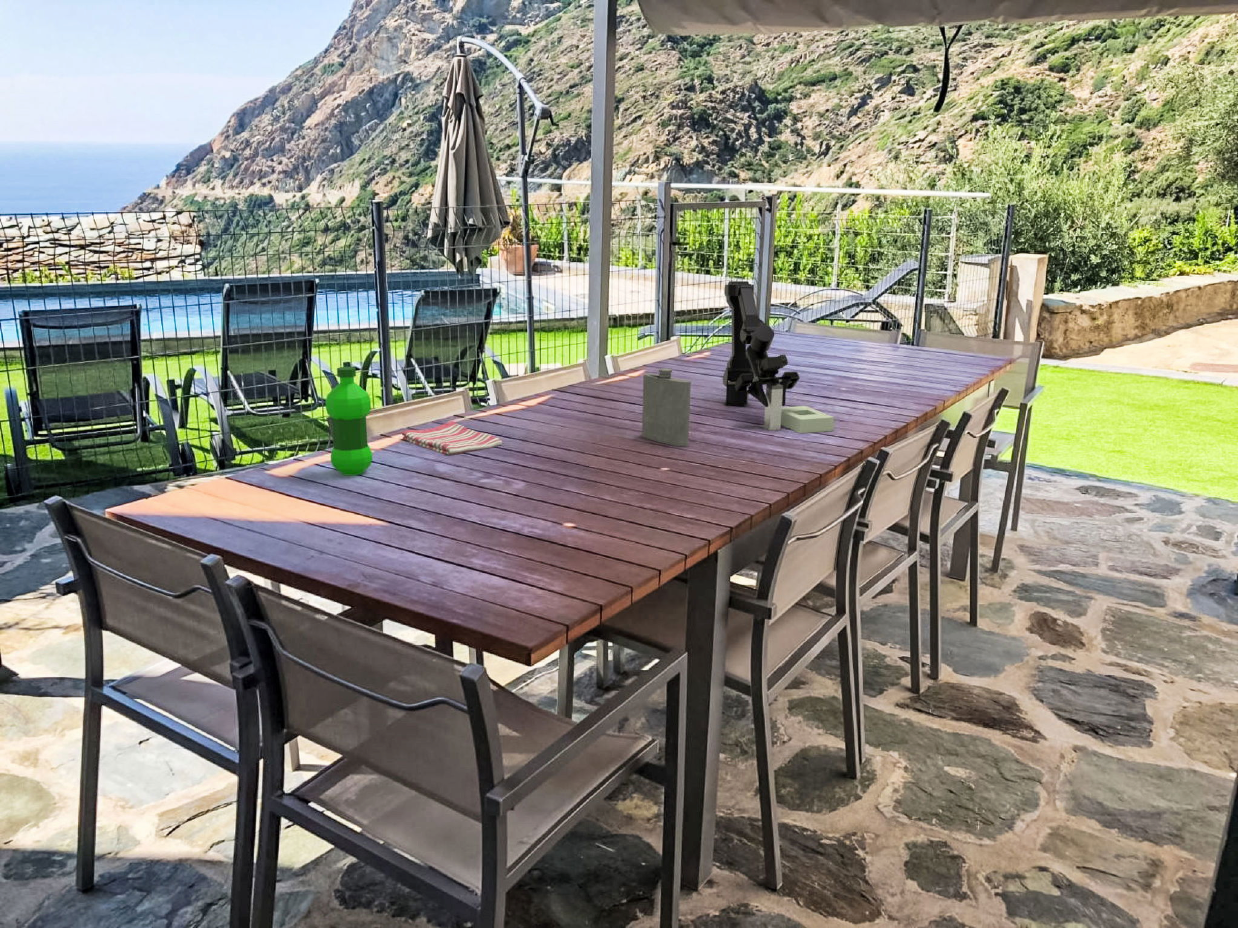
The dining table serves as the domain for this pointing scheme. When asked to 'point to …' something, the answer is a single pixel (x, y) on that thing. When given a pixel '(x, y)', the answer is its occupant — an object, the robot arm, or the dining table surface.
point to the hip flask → (666, 408)
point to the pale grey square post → (773, 406)
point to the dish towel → (451, 439)
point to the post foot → (806, 419)
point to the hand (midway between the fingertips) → (775, 405)
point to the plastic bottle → (349, 424)
